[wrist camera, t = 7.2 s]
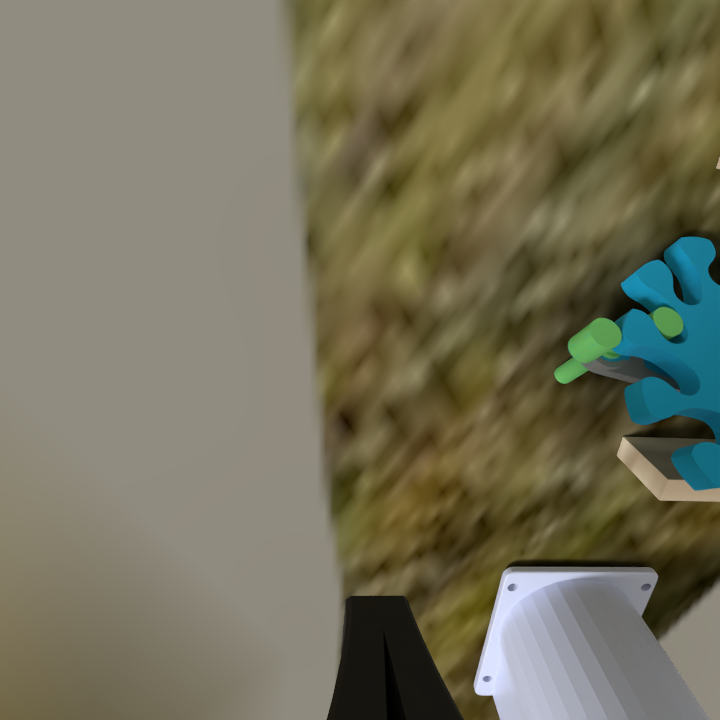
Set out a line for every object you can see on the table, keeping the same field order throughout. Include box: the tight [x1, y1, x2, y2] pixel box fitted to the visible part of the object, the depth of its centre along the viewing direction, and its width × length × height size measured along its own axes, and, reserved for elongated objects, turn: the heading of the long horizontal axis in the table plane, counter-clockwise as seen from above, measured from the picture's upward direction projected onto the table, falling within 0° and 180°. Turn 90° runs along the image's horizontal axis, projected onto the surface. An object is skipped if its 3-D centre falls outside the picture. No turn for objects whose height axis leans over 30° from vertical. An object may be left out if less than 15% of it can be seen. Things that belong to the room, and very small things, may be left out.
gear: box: [554, 237, 720, 491], centre depth 17 cm, size 11×6×10 cm
